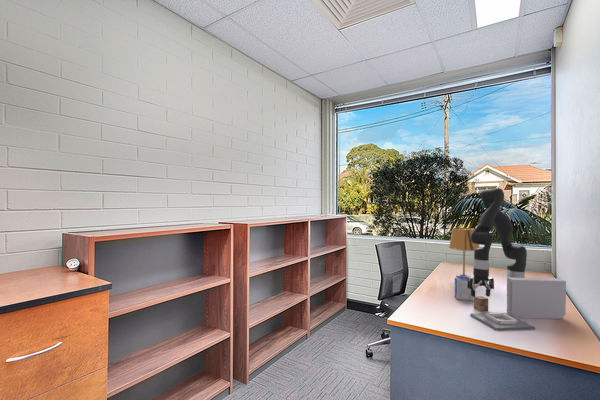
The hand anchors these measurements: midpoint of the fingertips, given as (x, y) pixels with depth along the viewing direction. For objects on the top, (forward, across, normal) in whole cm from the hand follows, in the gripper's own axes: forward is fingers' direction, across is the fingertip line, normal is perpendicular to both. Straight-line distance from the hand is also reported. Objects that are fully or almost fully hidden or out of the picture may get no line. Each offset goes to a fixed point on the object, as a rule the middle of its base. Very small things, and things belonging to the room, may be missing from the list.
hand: (480, 296), depth 167 cm
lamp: (+7, -27, -54) cm, 61 cm away
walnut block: (+8, 0, 0) cm, 8 cm away
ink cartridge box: (+8, -3, -19) cm, 21 cm away
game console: (+8, -23, +11) cm, 26 cm away
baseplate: (+8, +2, +17) cm, 19 cm away
